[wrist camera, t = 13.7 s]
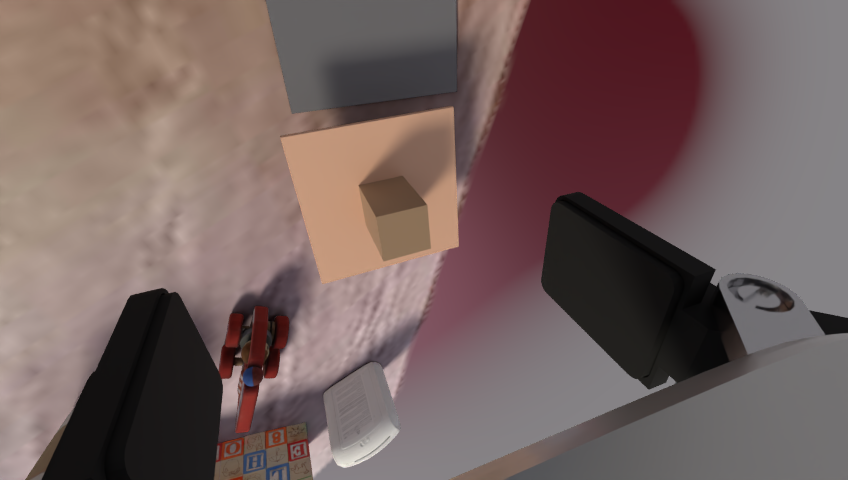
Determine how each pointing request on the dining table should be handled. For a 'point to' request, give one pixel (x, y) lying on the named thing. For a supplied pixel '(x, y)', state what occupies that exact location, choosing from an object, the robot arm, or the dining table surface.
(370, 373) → the photo printer
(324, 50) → the mat
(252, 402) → the toy fire truck
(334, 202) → the cover
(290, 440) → the stack of blocks
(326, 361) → the dining table surface
